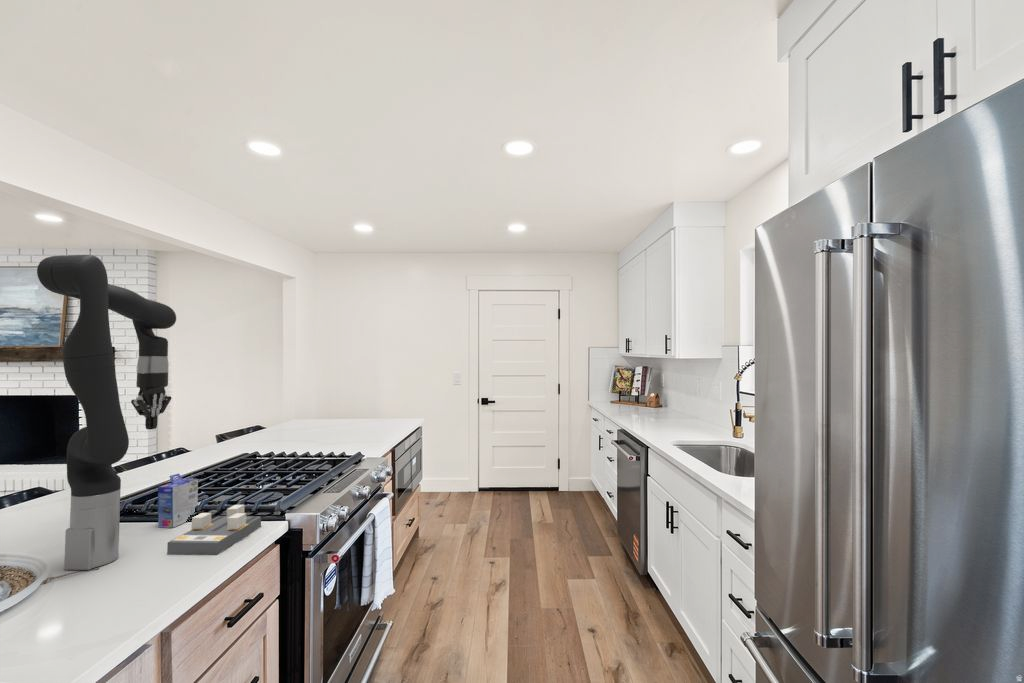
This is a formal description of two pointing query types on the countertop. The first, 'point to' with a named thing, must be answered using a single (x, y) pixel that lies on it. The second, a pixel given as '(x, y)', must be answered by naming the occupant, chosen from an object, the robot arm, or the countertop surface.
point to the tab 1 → (201, 520)
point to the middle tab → (235, 510)
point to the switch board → (212, 537)
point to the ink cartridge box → (177, 501)
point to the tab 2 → (236, 521)
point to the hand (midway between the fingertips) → (151, 429)
